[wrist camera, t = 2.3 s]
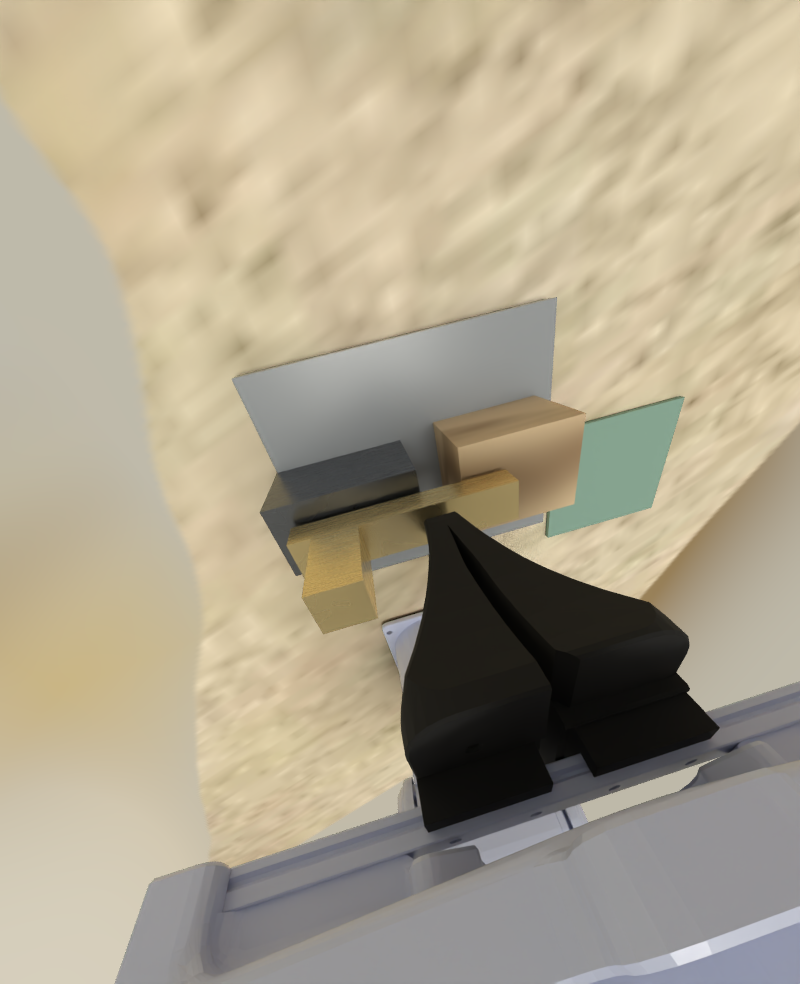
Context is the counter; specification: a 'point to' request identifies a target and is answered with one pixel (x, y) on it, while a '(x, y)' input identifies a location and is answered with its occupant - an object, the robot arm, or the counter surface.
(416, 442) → the housing plate
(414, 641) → the robot arm
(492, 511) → the latch bolt
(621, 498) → the pad
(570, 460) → the oak cover
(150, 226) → the counter surface
